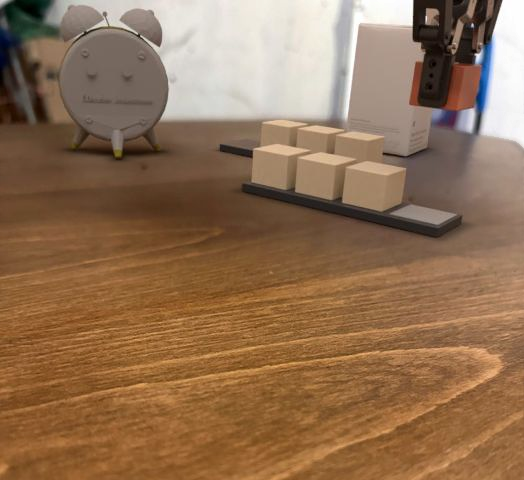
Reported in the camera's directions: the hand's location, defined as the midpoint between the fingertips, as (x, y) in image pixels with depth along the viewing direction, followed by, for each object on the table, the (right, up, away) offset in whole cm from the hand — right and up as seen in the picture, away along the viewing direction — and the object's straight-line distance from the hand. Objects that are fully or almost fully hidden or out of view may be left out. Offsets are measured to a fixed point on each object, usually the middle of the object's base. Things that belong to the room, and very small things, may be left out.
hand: (442, 103), depth 53 cm
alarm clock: (-31, +3, +23) cm, 39 cm away
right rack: (-7, -6, +8) cm, 12 cm away
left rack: (-10, +3, +26) cm, 28 cm away
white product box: (+2, +7, +37) cm, 38 cm away
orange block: (0, 0, 0) cm, 0 cm away
